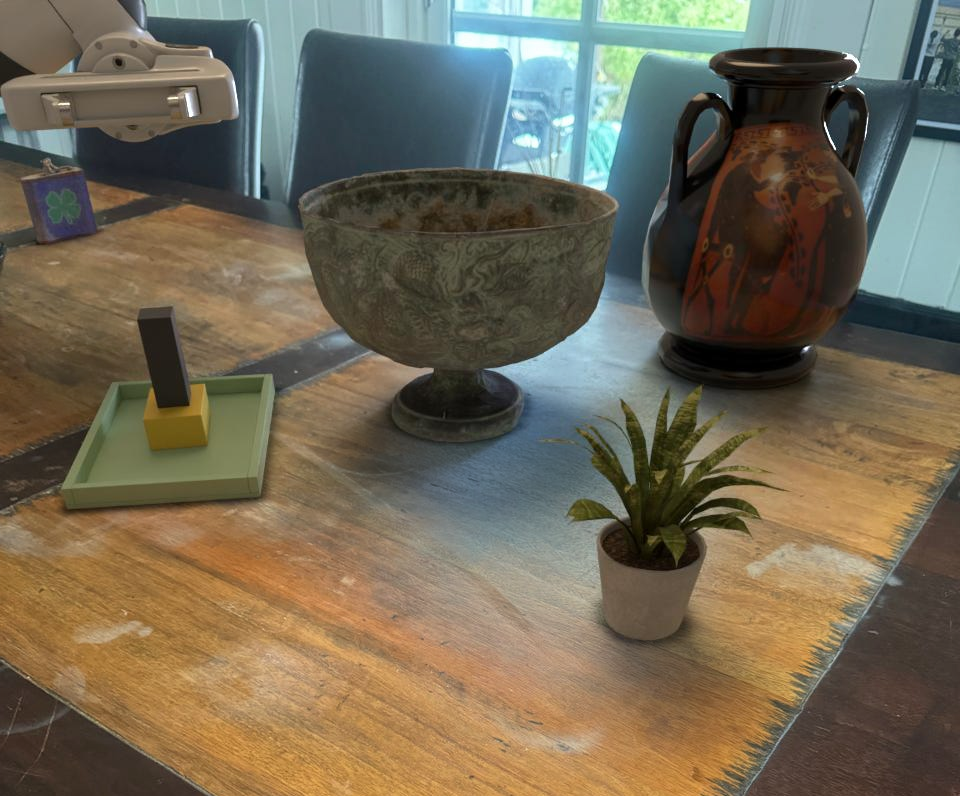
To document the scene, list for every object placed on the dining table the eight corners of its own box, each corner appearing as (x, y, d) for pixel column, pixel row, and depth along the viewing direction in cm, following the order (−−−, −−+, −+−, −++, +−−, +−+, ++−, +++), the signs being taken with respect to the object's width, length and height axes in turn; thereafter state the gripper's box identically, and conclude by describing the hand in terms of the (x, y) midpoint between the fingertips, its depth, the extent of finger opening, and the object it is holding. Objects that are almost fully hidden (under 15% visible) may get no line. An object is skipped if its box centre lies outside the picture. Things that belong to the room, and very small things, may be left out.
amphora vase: (778, 319, 110) (830, 37, 93) (882, 392, 94) (969, 65, 77) (604, 337, 106) (625, 45, 89) (680, 416, 90) (724, 77, 73)
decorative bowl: (264, 440, 86) (237, 204, 73) (388, 347, 105) (383, 147, 92) (539, 502, 78) (561, 252, 66) (619, 390, 97) (647, 180, 85)
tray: (67, 511, 77) (60, 489, 76) (117, 402, 94) (111, 382, 93) (260, 499, 78) (256, 476, 77) (275, 393, 95) (272, 373, 94)
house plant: (587, 722, 57) (607, 480, 47) (493, 599, 67) (492, 378, 57) (781, 660, 61) (838, 427, 51) (665, 554, 71) (693, 341, 61)
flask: (42, 246, 137) (19, 165, 130) (33, 242, 138) (10, 162, 132) (101, 234, 142) (82, 155, 135) (92, 230, 144) (73, 152, 137)
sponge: (150, 451, 84) (120, 329, 77) (157, 417, 89) (129, 301, 83) (207, 445, 85) (182, 324, 78) (210, 413, 90) (187, 297, 83)
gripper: (1, 55, 87) (-22, 76, 77) (226, 45, 91) (234, 64, 81) (22, 131, 91) (3, 161, 81) (237, 119, 95) (246, 145, 85)
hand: (121, 112), depth 81 cm, fingers open, 8 cm apart
